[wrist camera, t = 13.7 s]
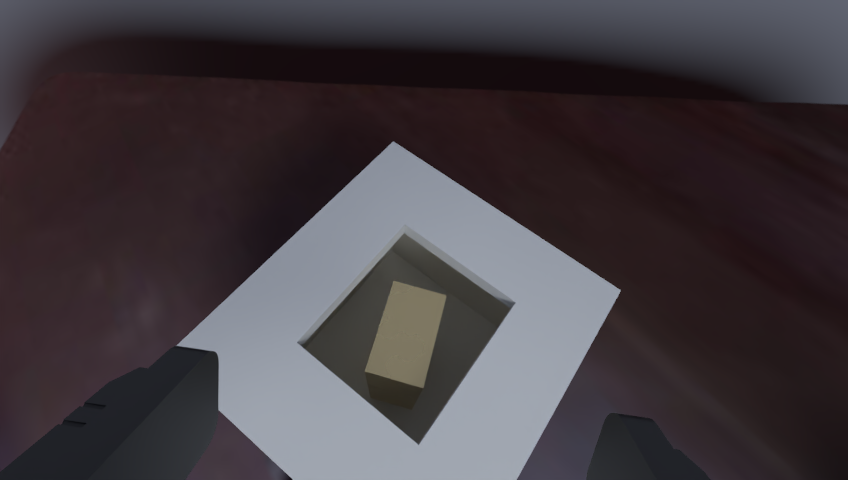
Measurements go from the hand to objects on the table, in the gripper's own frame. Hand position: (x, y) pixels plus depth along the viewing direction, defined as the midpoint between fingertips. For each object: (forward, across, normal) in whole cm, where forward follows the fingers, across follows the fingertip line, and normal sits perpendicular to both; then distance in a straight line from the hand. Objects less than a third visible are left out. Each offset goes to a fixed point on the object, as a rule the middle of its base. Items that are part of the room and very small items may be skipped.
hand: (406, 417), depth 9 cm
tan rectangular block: (+19, 0, +12) cm, 23 cm away
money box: (+20, 0, +13) cm, 24 cm away
